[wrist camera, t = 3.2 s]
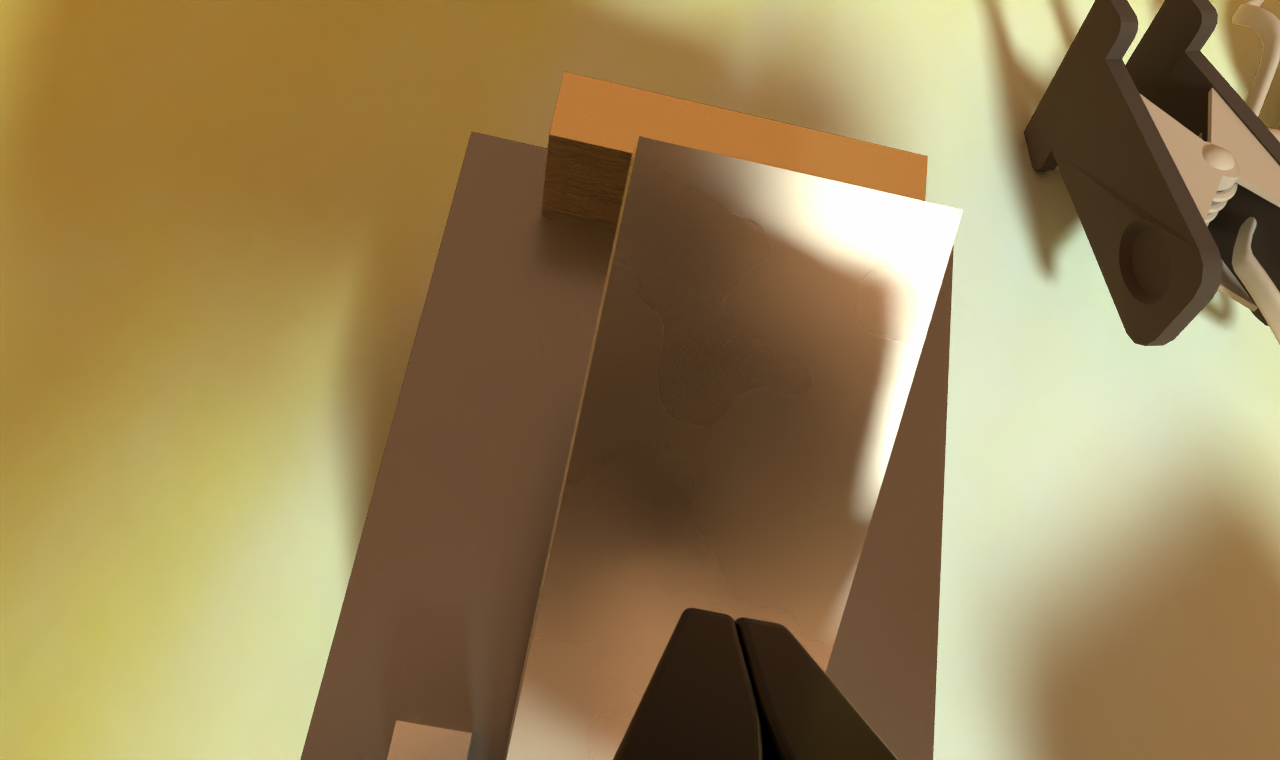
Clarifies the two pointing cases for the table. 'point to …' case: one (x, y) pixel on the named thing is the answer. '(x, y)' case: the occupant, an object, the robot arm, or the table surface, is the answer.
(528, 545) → the dark grey box
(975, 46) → the table surface
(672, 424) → the tan flat block
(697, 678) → the robot arm
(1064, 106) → the clip-on lamp
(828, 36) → the table surface
